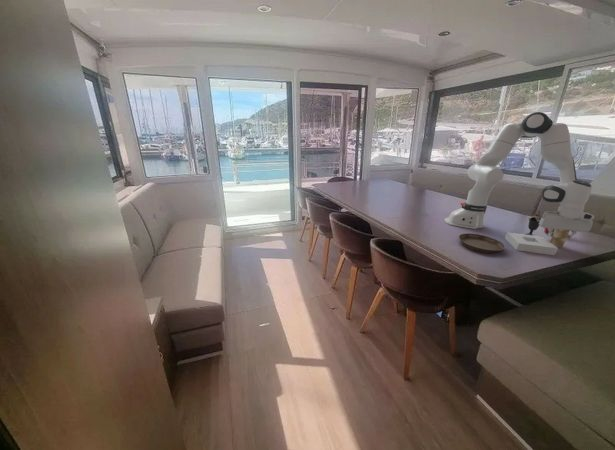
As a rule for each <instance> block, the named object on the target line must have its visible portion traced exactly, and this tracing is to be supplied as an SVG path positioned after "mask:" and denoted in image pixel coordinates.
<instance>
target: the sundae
mask: <svg viewBox="0 0 615 450" xmlns="http://www.w3.org/2000/svg"><path fill="white" fill-rule="evenodd" d="M539 213H540V211H538V213H535V214H534V215H532V216H530V217H529V218H528V229H529V233H525V234H526V235H533V232H534V231H536V230H537V229H538V228H539V227H540V225H539V222H540V220H541V218H542V217H540V214H539Z"/></svg>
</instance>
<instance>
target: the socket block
mask: <svg viewBox="0 0 615 450" xmlns="http://www.w3.org/2000/svg"><path fill="white" fill-rule="evenodd" d="M526 234H527V233H517V232H509V231H508V232H506V235H505V238H504V239H505V240H506V241H507V243H509V244H510V245H511V247H513V248H514V249H515V250H516V251H521V252H528V253H534V254H535V253H536V254H541V255H548V256H549V255H550V256H556V254H557V252H558V249H559V247H556V246H554V245H553V244H552V243H550V240H548V239H546V238H545V237H543V236H541V235H535V234H532V235H526Z"/></svg>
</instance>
